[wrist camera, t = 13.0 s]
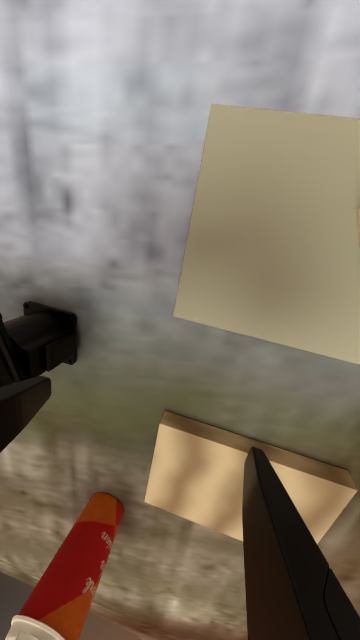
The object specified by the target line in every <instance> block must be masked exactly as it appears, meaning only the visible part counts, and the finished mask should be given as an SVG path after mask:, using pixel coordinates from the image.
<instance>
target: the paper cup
mask: <svg viewBox="0 0 360 640" xmlns="http://www.w3.org/2000/svg"><path fill="white" fill-rule="evenodd" d="M123 512H124V509H123V506H122V504H121V503H120V502H119V501H118V500H117V499H116V498H115V497H113V496H112V495H109V494H107V493H102V492H100V493H96V494H94V495H93V497H92V498H91V499H90V501H89V503H88V504H87V506H86V507H85V509H84V510H83V512H82V513H81V515H80V517H79V518H78V520H77V521H76V523H75V525H74V526H73V528H72V529H71V531H70V533H69V534H68V536H67V537H66V539H65V540H64V542H63V544H62V545H61V547H60V548H59V550H58V552H57V553H56V555H55V556H54V558H53V560H52V561H51V563H50V565H49V566H48V568H47V569H46V571H45V573H44V574H43V576H42V577H41V579H40V581H39V582H38V584H37V585H36V587H35V589H34V590H33V592H32V594H31V595H30V597H29V598H28V600H27V601H26V603H25V605H24V606H23V608H22V609H21V611H20V613H19V614H18V615H16V616H14V617H13V619H12V623H11V625H12V626H11V628H10V630H9V632H8V635H7V636H6V639H5V640H79V637H80V634H81V631H82V628H83V625H84V623H85V620H86V617H87V614H88V612H89V609H90V606H91V603H92V601H93V598H94V595H95V592H96V589H97V587H98V584H99V581H100V578H101V575H102V573H103V570H104V567H105V564H106V561H107V559H108V556H109V553H110V550H111V547H112V545H113V542H114V539H115V536H116V533H117V530H118V528H119V525H120V522H121V519H122V516H123Z"/></svg>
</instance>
